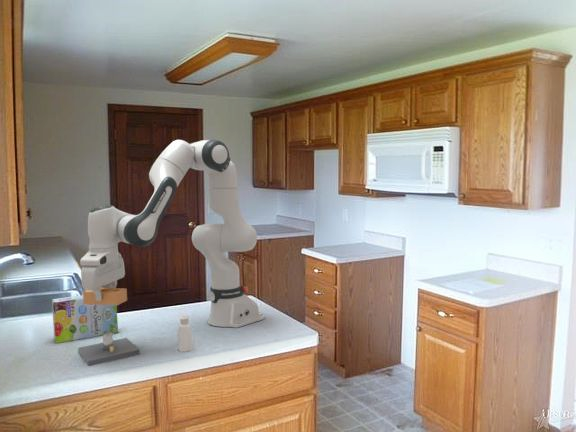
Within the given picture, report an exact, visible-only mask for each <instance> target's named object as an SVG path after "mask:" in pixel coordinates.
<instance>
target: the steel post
mask: <svg viewBox="0 0 576 432" xmlns="http://www.w3.org/2000/svg"><path fill="white" fill-rule="evenodd" d="M113 334H114V333H110V332H109V333H104V334H103V335H102V343H103V347H104V350H110V346H113V340H114V337H113V336H114V335H113Z"/></svg>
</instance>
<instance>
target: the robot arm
mask: <svg viewBox="0 0 576 432" xmlns="http://www.w3.org/2000/svg"><path fill="white" fill-rule="evenodd" d="M189 170H192V171H204V172H206V173H207V176H208V195H209V196H208V199H209V200H208V204H209V208H210V210H211V211H212V212H213V213H214V214H217V215H218V216H220V217H221V218H222V219H223V222H224V223H203V224H200V225H197V226H196V227H195V228H194V229H193V231H192V235H191V242H192V245H193V246H194V248H195V249H196V250H198V252H200V253H201V254H202V255H203V257H205V259H206V261H207V263H208V266H209V270H210V278H211V280H210V283H211V284H210V285H211V286H210V294H209V295H210V302H211V303H210V312H209V318H208V321H207V322H208V323H207V324H209V325H211V326H214V327H219V328H220V327H222V328H223V327H224V328H226V327H227V328H240V327H244V326H247V325H249V324H253V323H256V322H258V321H262V320H264V319H265V315H264V313H262V312H260V311H259V305H258V303H257V302H256V301H255V300H254V299H252V298H250V297H249V296H247V294H245V293H248V292H249V287H248V286H245V285H244V286H243V285H241V284H240V282H241V281H240V267H239V265H238V264H237V263H236V262H235V261H233V260H231V259H229V258H228V257H227V256H226V253H228V252H229V253H242V252H249V251H252V250H253V249H254V248H255V247H256V245H257V242H258V233H257V231H256V229H255V228H254V227H253V226H252V225H251V224H250V223H249V222H247V220H246V219H245V218H244V216H243V213H242V212H241V210H240V205H239V204H240V203H239V191H238V190H239V189H238V187H239V186H238V185H239V184H238V174H237V168H236V165H235V163H234V162H233V161H231V156H230V152H229V149H228V147H227V145H226V144H225V143H224V142H223V141H220V140H217V139H203V140H199V141H195V142H194V141H193V142H190V143H189V142H187V141H186V140H183V139H176V140H173V141H172V142H171V143H170V144H168V145H167V146H166V148H165V149H164V150H163V151H162V152H161V153H160V155H159V156H158V157H157V158H156V159H155V161H154V162H153V164H152V165H151V167H150V170H149V173H148V179H149V181H150V183H151V185H152V186H153V189H154V191H153V194H151V195H152V196H151V197H150V199H149V200H148V202H147V204H146V206H145V207H144V209H143V210H142V211H141V212H140V213H139V214H131V213H129V212H125V211H122V210H120V209H118V208H116V207H115V206H114V205H110V204H104V205H100V206H96V207H93V208H91V209H90V210H89V213H88V217H87V235H88V238H89V244H88V251H87V252H86V253H85V255H83V256H82V257H81V258H80V261H79V265H80V266H82V267H81V270H80V271H81V273H80V278H81V286H82V289H83V290H84V291H87V290H93V292H94V294H95V295H96V301H101V300H103V294H101V291H100V290H101V288H103V287H105V286H107V285H109V288H117V285H118V280H121V279H123V278H125V275H126V271H125V269H126V268H125V262H124V258H123V257H122V253H120V252H119V243H121V242H123V243H126V244H129V245H132V246H134V247H136V248H145V247H147V246H150V245H152V243H154V241H155V239H156V237H157V236H158V231H159V226H160V224H161V222H162V218H163V217H164V215H165V214H166V212H167V210H168V208H169V206H170V204H171V202H172V200H173V199H174V197H175V195H176V192H177V189H178V186H179V185H180V183H181V181H182V180H183V178H184V177H185V176H186V174H187V172H188V171H189ZM225 252H226V253H225Z"/></svg>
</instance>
